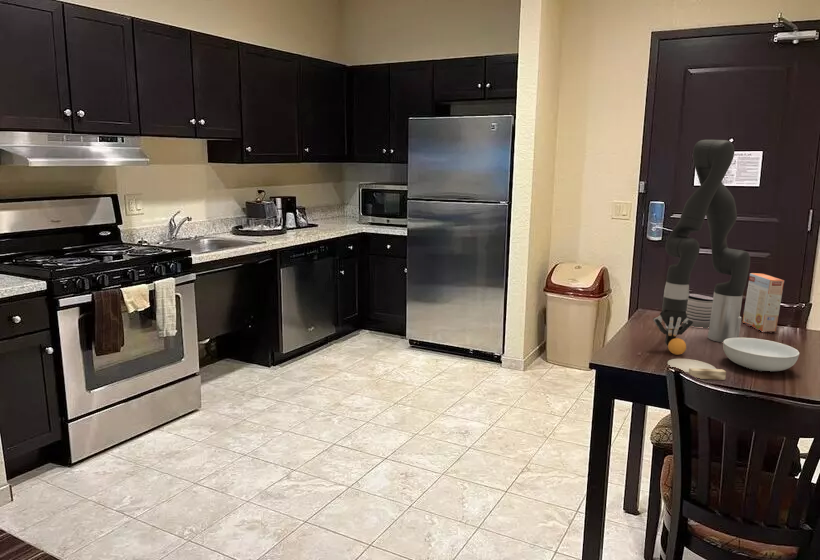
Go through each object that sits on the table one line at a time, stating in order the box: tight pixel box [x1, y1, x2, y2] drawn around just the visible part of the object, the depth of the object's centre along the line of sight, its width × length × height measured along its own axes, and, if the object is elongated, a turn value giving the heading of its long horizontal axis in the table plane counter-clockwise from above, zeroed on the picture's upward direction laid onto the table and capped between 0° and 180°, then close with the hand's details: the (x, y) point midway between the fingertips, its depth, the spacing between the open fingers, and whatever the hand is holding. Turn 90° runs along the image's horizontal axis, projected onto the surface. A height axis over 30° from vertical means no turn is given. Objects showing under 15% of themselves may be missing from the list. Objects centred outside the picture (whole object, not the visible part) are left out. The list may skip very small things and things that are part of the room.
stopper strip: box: [688, 368, 727, 381], centre depth 178 cm, size 10×2×2 cm, turn 89°
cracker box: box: [741, 272, 785, 332], centre depth 234 cm, size 14×6×21 cm, turn 179°
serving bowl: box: [722, 337, 800, 372], centre depth 189 cm, size 21×21×7 cm
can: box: [686, 293, 713, 329], centre depth 237 cm, size 11×11×12 cm
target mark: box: [667, 358, 717, 374], centre depth 188 cm, size 14×14×1 cm
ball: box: [667, 337, 687, 356], centre depth 199 cm, size 6×6×6 cm
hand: (669, 345), depth 203 cm, fingers closed
